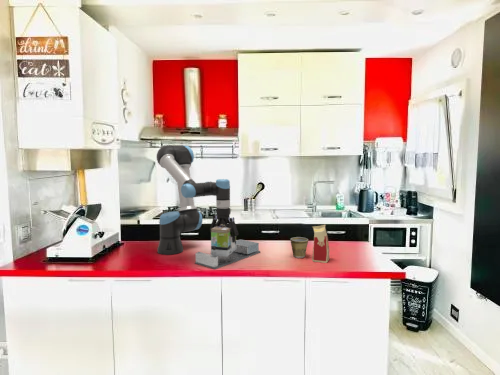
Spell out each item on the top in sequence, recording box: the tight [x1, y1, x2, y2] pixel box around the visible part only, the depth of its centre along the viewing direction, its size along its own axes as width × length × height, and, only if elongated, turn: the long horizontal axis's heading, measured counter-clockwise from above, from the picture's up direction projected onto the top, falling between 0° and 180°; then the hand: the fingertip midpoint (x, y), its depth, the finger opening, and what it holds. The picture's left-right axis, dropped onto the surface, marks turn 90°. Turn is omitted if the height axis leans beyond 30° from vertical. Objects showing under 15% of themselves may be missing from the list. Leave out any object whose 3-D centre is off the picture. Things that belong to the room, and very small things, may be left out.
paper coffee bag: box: [311, 224, 330, 264], centre depth 192 cm, size 9×9×20 cm
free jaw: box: [235, 239, 260, 254], centre depth 207 cm, size 14×10×4 cm
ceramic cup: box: [290, 236, 309, 259], centre depth 201 cm, size 13×10×10 cm
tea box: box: [210, 224, 237, 257], centre depth 193 cm, size 15×10×15 cm, turn 166°
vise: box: [194, 250, 261, 270], centre depth 197 cm, size 15×38×6 cm, turn 141°
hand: (223, 246), depth 193 cm, fingers closed on tea box, 12 cm apart
